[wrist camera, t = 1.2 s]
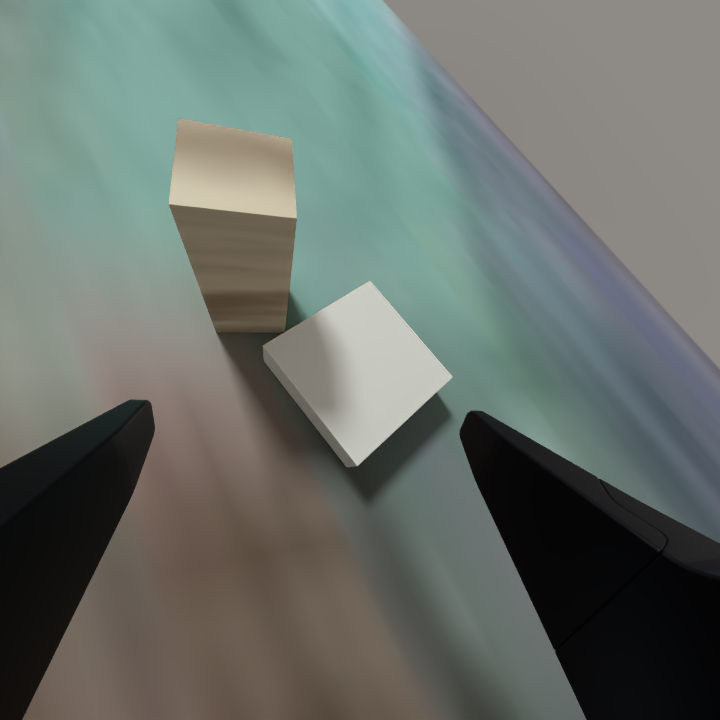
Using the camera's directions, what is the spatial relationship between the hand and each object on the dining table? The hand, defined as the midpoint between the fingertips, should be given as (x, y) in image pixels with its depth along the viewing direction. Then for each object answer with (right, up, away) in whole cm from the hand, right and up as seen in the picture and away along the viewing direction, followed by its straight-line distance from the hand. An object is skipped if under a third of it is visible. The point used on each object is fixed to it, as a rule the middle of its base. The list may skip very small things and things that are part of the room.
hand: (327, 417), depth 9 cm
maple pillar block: (-8, +6, +16) cm, 19 cm away
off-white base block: (0, 0, +16) cm, 16 cm away
